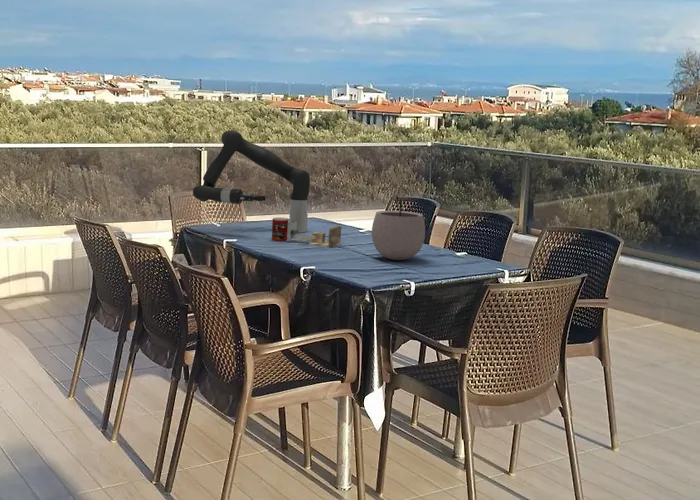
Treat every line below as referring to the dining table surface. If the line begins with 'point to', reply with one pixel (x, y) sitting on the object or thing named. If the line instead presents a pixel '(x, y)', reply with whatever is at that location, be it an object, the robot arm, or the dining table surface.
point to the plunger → (293, 232)
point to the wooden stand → (319, 238)
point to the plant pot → (398, 233)
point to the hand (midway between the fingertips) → (263, 198)
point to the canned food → (279, 229)
